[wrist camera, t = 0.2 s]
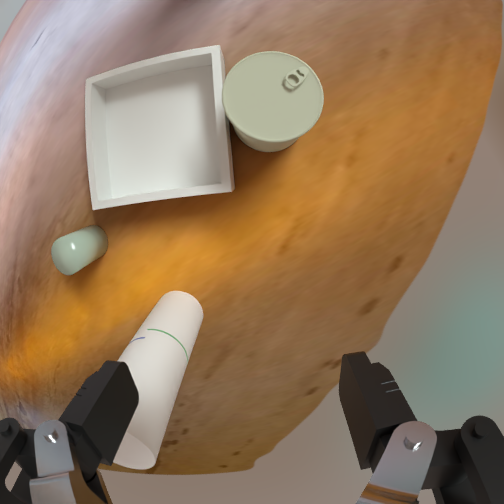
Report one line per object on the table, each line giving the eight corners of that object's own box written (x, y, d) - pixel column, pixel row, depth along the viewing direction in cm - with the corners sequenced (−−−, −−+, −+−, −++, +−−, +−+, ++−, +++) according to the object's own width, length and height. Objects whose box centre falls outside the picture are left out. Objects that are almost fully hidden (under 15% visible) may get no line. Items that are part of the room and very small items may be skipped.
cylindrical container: (149, 298, 40) (62, 418, 16) (190, 284, 40) (120, 418, 16) (170, 337, 42) (111, 467, 18) (210, 325, 41) (171, 470, 17)
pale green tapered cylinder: (79, 226, 38) (48, 239, 30) (104, 223, 37) (74, 235, 30) (85, 258, 39) (56, 275, 31) (110, 256, 39) (83, 274, 31)
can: (318, 121, 33) (346, 100, 22) (266, 166, 35) (270, 164, 23) (269, 72, 31) (275, 32, 20) (217, 116, 33) (198, 92, 22)
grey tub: (103, 87, 32) (85, 79, 27) (224, 59, 31) (219, 45, 26) (110, 205, 37) (92, 210, 32) (234, 189, 36) (231, 191, 31)
